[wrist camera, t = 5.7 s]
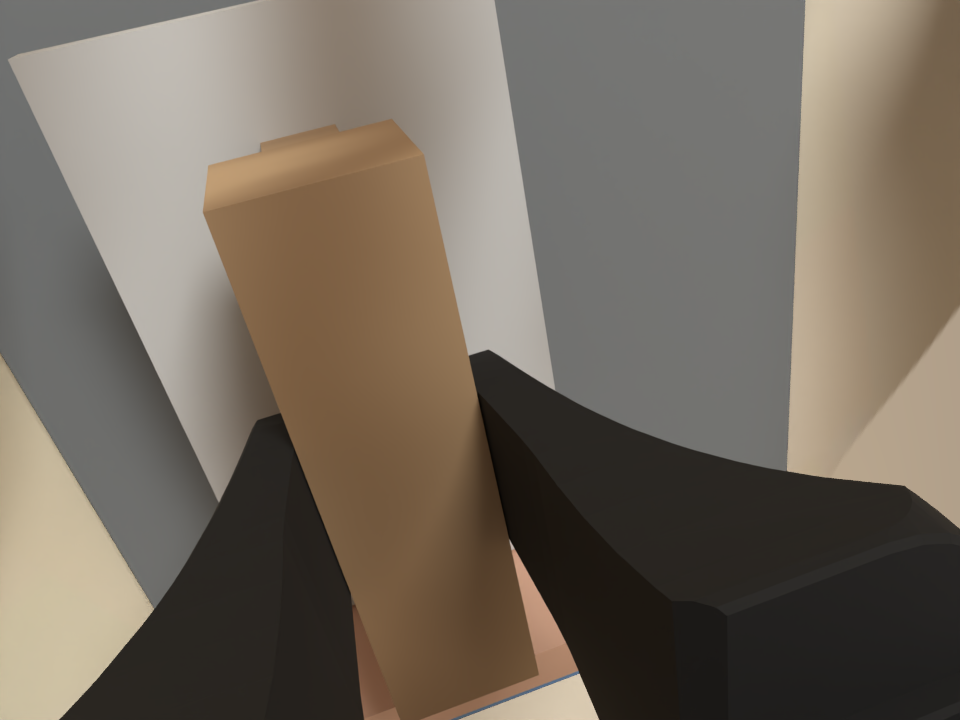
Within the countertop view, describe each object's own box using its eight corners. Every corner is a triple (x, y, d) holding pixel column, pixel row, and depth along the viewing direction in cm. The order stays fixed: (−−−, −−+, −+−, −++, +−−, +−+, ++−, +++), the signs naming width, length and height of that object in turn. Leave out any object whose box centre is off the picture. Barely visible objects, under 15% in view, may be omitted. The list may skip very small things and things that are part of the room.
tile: (520, 386, 22) (649, 612, 16) (526, 424, 23) (649, 651, 17) (247, 473, 21) (270, 753, 15) (264, 508, 22) (293, 787, 16)
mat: (801, -352, 16) (819, -361, 16) (774, 534, 30) (783, 544, 29) (-289, -157, 13) (-309, -161, 13) (237, 730, 27) (237, 746, 26)
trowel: (476, -49, 12) (606, -46, 8) (567, 511, 18) (667, 682, 14) (18, 54, 11) (-115, 122, 7) (278, 610, 17) (293, 827, 13)
